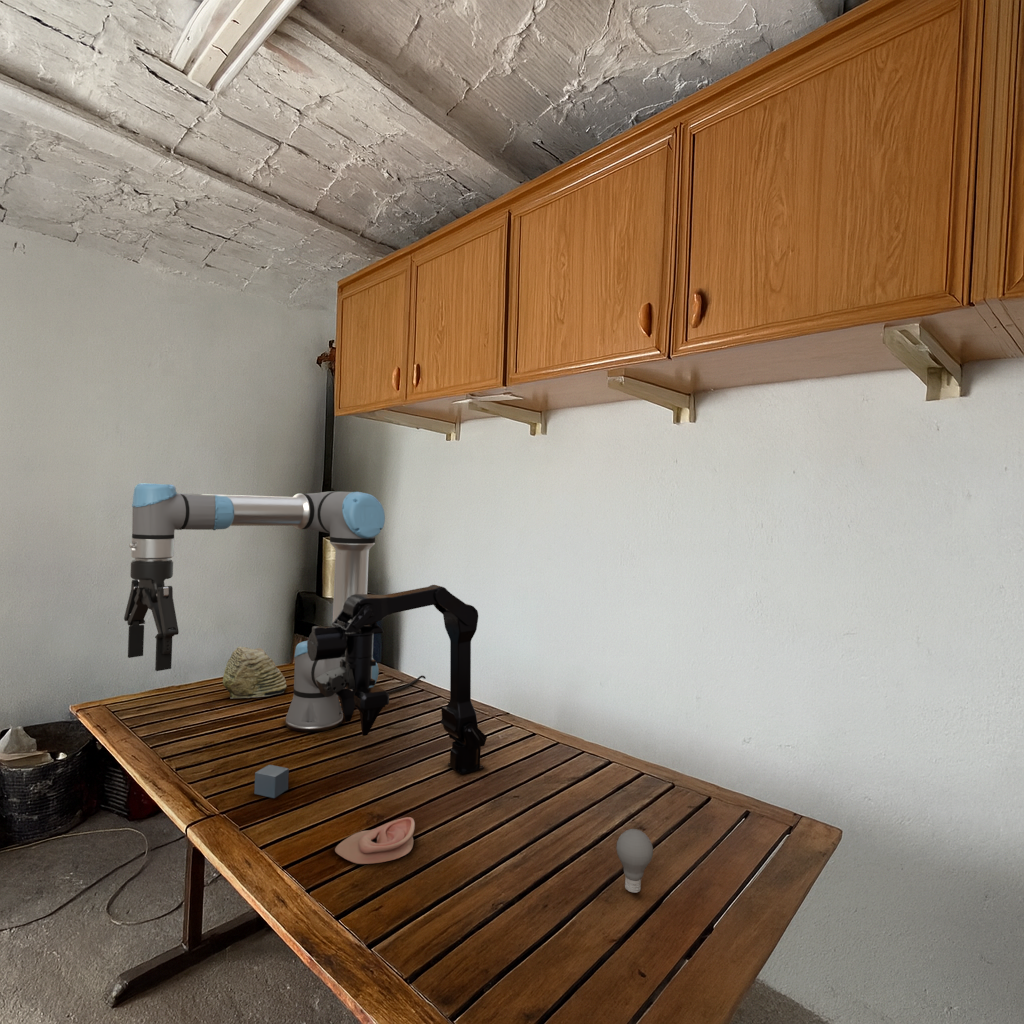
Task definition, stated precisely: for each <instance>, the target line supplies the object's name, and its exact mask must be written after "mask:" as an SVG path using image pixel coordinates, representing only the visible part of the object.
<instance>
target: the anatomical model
mask: <svg viewBox="0 0 1024 1024" xmlns="http://www.w3.org/2000/svg"><path fill="white" fill-rule="evenodd" d="M415 828H416V823H415V820H414V818H413V817H410V816H409V817H402V818H398V819H395V820H392V821H389V822H386V823H384V824H382V825H380V826H377V827H375V828H372V829H368V830H361V831H358V832H356V833H353V834H352V835H350V836H348V837H346V838H345V839H343V840H342V841H340V843H338V844H337V845H336V846H335V848H334V852H335V853H336V854H337V855H338V856H340V857H341V858H343V859H344V860H347V861H348V862H351V863H353V864H357V865H369V864H370V865H371V864H380V863H385V862H390V861H394V860H398V859H400V858H402V857H404V856H407V855H408V854H409V853H410V852H411V851H412V849H413V847H414V837H413V835H414V833H415Z"/></svg>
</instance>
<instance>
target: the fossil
mask: <svg viewBox="0 0 1024 1024" xmlns="http://www.w3.org/2000/svg"><path fill="white" fill-rule="evenodd" d="M222 676H223V677H222V685H223V687H224V688H225V690H226V691H228V693H229V698H230V699H250V698H264V697H271V696H275V695H281V694H284V693H285V691H286V689H287V687H288V686H287V680H286V678H285V676H284V674H283V673H282V672H281V669H279V668H278V667H277V665H276V663H275V662H274V660H273V659H272V658H271V657H270V656H269V655H268V654H267V653H266V652H265V650H264V649H263V648H260V647H258V648H251V647H247V646H246V647H245V646H238V647H237V648H236V649H235V650H233V651H232V653H231V656H230V657H229V659H228V660H227V663H226V666H225V668H224V671H223V675H222Z"/></svg>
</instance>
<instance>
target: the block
mask: <svg viewBox="0 0 1024 1024" xmlns="http://www.w3.org/2000/svg"><path fill="white" fill-rule="evenodd" d="M289 774H290V768H288V767H284V766H280V765H279V766H278V765H273V764H268V765H265V766H264V767H262V768H260V769H259V770H257V771H255V772H254V789H253V790H254V792H253V793H254V795H257V796H263V797H266V798H271V799H276V798H277V797H279V796H280V795H282V794H284V793H285V792H287V791H288V790H289Z"/></svg>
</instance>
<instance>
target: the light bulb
mask: <svg viewBox="0 0 1024 1024" xmlns="http://www.w3.org/2000/svg"><path fill="white" fill-rule="evenodd" d="M615 849H616V854H617V857H618V859H619V861H620V863H621V865H622V867H623V873H624V874H623V875H624V876H625V878H624V888H625V890H627V891H628V892H630V893H634V894H635V893H639V892H640V891H641V889H642V887H641V886H642V879H643V877H644V875H645V871H646V868H647V867H648V866H649V864H650V863H651V861H652V859H653V855H654V847H653V843H652V841H651V838H649V836H648V835H647V834H646V833H645V832H643V831H642V830H641V829H636V828H629V829H627V830H625V831H623V832H622V833H621V834H620V835H619V837H618V839H617V841H616V847H615Z"/></svg>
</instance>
